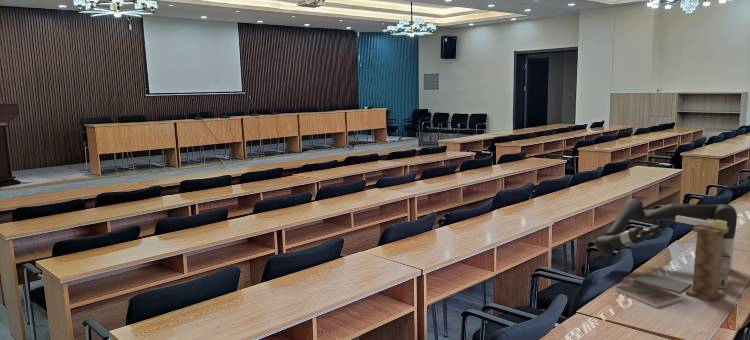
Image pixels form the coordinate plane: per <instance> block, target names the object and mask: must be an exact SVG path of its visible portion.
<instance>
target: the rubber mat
mask: <svg viewBox="0 0 750 340" xmlns="http://www.w3.org/2000/svg"><path fill="white" fill-rule="evenodd" d="M636 281H642V282H644V283H647V284H650V285H652V286H655V287H657V288H660V289H662V290H665V291H668V292H671V293H677V294H681V293H683V292H684V291H686V290H688V289H689V288H691V287H692V286H693V283H689V282H686V281H681V280H677V279H673V278H670V277H666V276H663V275H662V276H661V275H658V274H654V273H650V272H644V273H642V274H641V275H640V276H638V277H636V278H635V279H633V282H636Z"/></svg>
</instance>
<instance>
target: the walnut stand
mask: <svg viewBox="0 0 750 340" xmlns="http://www.w3.org/2000/svg"><path fill="white" fill-rule="evenodd" d="M728 230H729V227H727V228H726V229H725V230H724V231H722V230H716V229H713V228H708V227H702V226H697V225H693V227H692V232H694V233H697V234H696V243H695V254H694V265H693V266H694V267H693V278H692V285H691V286H690V287H688V288H687V289H686V290H685V295H686V296H690V297H695V298H698V299H701V300H704V301H709V302H713V303H716V302H717V301H719V299H720V298H721V297H723V296H724V295H725V291H724V290H721V289H719V288H718V285H719V275H720V265H721V255H722V245H723V235H724V234H726V233H727V232H728Z"/></svg>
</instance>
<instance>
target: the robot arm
mask: <svg viewBox="0 0 750 340" xmlns="http://www.w3.org/2000/svg"><path fill="white" fill-rule="evenodd" d="M677 215H679V216H684V217H690V218H696V219H702V220H712V221H713V220H714V221H715V220H723V221H727V227H729V230H728V232H727V233H726V234H724V235H723V245H722V250H724V251H725V252H726V253H727V254H728V255H729V256H730V264H729V272H730V271H732V265H733V257H734V256H733V255H734V246H735V236H736V232H737V231H736V230H737V220H738V213H737V210H736V208H735V207H733V206H732V205H730V204H727V203H725V204H723V203H722V204H721V203H720V204H703V205H702V204H691V203H668V204H665V205H663V206H660V207H658V208H654V209H644V205H643V201H641V200H640V199H639V198H630V199H628V200H627V201H625V203H624V204H623V206H622V209H621V210H620V213H618V216H617V217H616V219H615V220H614V222H613V223H612V224H611V226H610V227H609V228H608V229H607V231H605V233H604V235H601V236H598V237H596V238H595V239H594V240H593V246H595V248H596V249H597V250H598V252H599V253H600V254H601V256H603V257H609V256H612V255H613V253H614V252H615V249H622V248H626V247H631V246H633V245H637V244H641V243H643V242H645V241H646V238H648V237H650V236H651V235H653V234H655V233H656V234H657V233H659V232H660V231H661V230H664V229H666V228H668V224H667V223H666V222H664V223H661V224H656V225H652V226H649V227H644V228H643V229H642V228H641V227H639V226H638V227H637V226H636V227H633V228H630V229H627V227H628V224H629V222H630V221H631V222H632V221H634V222H643V221H644V222H645V221H647V222H648V221H671V222H675V218H676V216H677ZM626 229H627V230H626Z"/></svg>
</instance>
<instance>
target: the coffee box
mask: <svg viewBox="0 0 750 340" xmlns="http://www.w3.org/2000/svg"><path fill="white" fill-rule="evenodd" d="M729 264H730V256H729V255H728V254H727V253H726V252H725V251H724V250H722V255H721V265H720V275H719V285H718V289H727V288H728V282H729V281H728V280H729V272H730V271H729Z"/></svg>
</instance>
